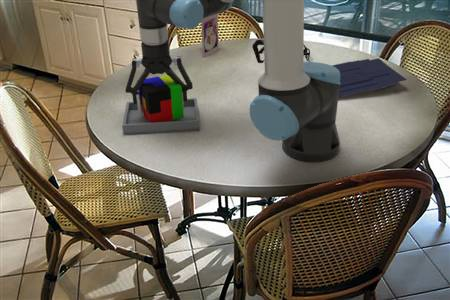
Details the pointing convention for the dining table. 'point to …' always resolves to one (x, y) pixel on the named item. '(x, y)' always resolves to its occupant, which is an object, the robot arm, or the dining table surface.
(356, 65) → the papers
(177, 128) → the tray
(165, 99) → the puzzle toy
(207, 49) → the greeting card
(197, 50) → the dining table surface
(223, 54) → the dining table surface
